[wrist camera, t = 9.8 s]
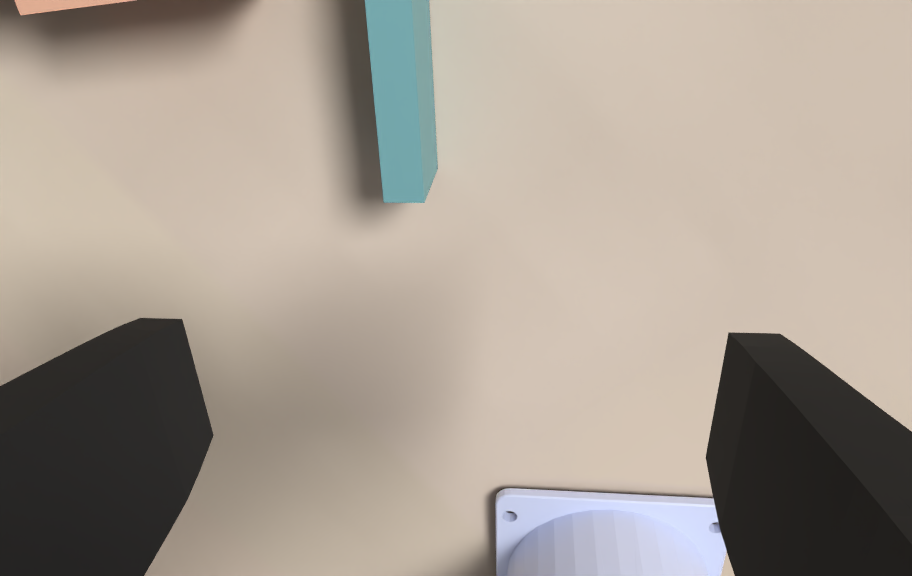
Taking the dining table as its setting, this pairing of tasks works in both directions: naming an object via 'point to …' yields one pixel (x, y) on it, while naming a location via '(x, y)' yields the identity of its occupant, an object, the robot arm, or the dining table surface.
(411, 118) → the box
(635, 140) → the dining table surface
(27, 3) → the salmon pink block
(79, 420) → the robot arm
